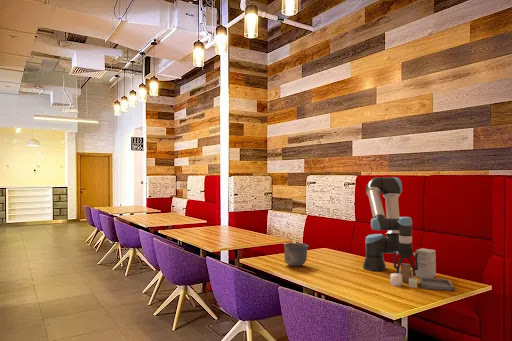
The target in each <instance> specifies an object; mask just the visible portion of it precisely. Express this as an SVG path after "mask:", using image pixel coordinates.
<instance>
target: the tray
mask: <svg viewBox="0 0 512 341" xmlns="http://www.w3.org/2000/svg"><path fill="white" fill-rule="evenodd" d="M419 282H420V285H421V287H422V289H423V290H434V291H447V292H448V291H449V292H455V290H456V289H455V285H453V283H452V282H451V281H450V279H444V278H435V277H434V278H421V277H419Z"/></svg>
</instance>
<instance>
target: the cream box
mask: <svg viewBox="0 0 512 341" xmlns="http://www.w3.org/2000/svg"><path fill="white" fill-rule="evenodd" d="M408 286H409V288H416V289H417V288H418V280H417V277H416V278H415V277H413V278H409V282H408Z"/></svg>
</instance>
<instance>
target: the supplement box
mask: <svg viewBox="0 0 512 341" xmlns="http://www.w3.org/2000/svg"><path fill="white" fill-rule="evenodd" d="M436 252H437V251H436V250H435V249H428V248H422V247H420V248H419V249H416V250H415V253H417V254H418V256H417V262H418V270H415V277H416V278H420V277H421V278H435V277H436V276H437V262H436V259H437V255H436Z"/></svg>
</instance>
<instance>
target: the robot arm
mask: <svg viewBox="0 0 512 341" xmlns="http://www.w3.org/2000/svg"><path fill="white" fill-rule="evenodd" d="M402 192H403V183H402V180H401V179H400V178H399V177H395V176H386V177H385V176H380V177H379V176H376V177H374V178H371V179H370V180H369V181H368V183H367V184H366V187H365V193H366V196H368V200H369V205H370V210H371V215H372V218H371V219H370V227H371V230H373V231H387V232H386V233H385V236H384V235H383V234H382V233H373V234H372V233H371V234H368V235H367V236H365V256H364V257H365V258H364V261H363V265H362V269H364V270H367V271H373V272H384V271H386V270H387V265H386V261H385V259H384V254H385V255H386V254H391V255H394V257H393V258H394V260H393V268H394V269H396V273H398V274H401V263H403V259H408V261H409V264H410V266H411V278H414V277H416V270H418V262H417V256H418V254H417V253H416V251H415V252H414V251H413V219H412V218H411V217H410V216H400V208H399V207H400V206H399V197H400V196H401V194H402ZM381 194H382V197H383V198H384V199H385V211H384V207H383V203H382V199H381ZM398 255H399V256H400V257H399V260H398V263H397V258H398ZM412 256H414V263H413V260H412V258H411V257H412ZM414 265H415V266H414Z"/></svg>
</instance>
